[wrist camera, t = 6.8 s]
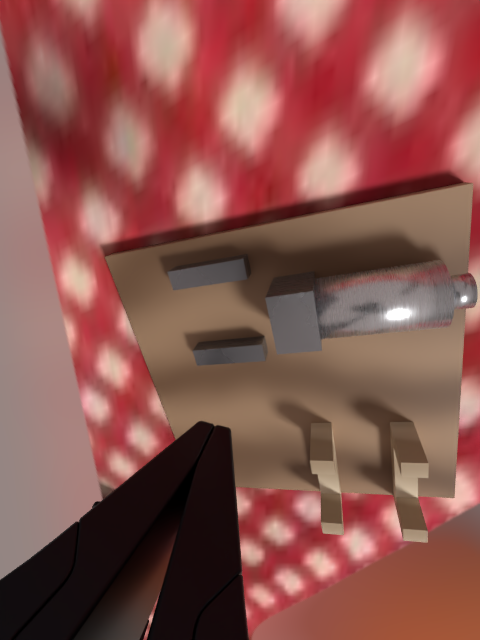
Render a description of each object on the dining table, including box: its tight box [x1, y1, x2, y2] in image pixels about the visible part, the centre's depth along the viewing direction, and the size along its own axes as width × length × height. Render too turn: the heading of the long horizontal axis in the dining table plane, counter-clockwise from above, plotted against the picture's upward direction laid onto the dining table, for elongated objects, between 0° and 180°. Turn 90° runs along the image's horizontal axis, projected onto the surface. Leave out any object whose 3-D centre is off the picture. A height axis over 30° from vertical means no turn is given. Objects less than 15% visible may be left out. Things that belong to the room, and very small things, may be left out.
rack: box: [310, 422, 429, 542], centre depth 18 cm, size 6×6×3 cm
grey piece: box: [265, 260, 477, 354], centre depth 14 cm, size 8×3×3 cm, turn 104°
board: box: [105, 182, 473, 498], centre depth 19 cm, size 18×18×1 cm
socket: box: [168, 254, 268, 366], centre depth 17 cm, size 6×4×1 cm
